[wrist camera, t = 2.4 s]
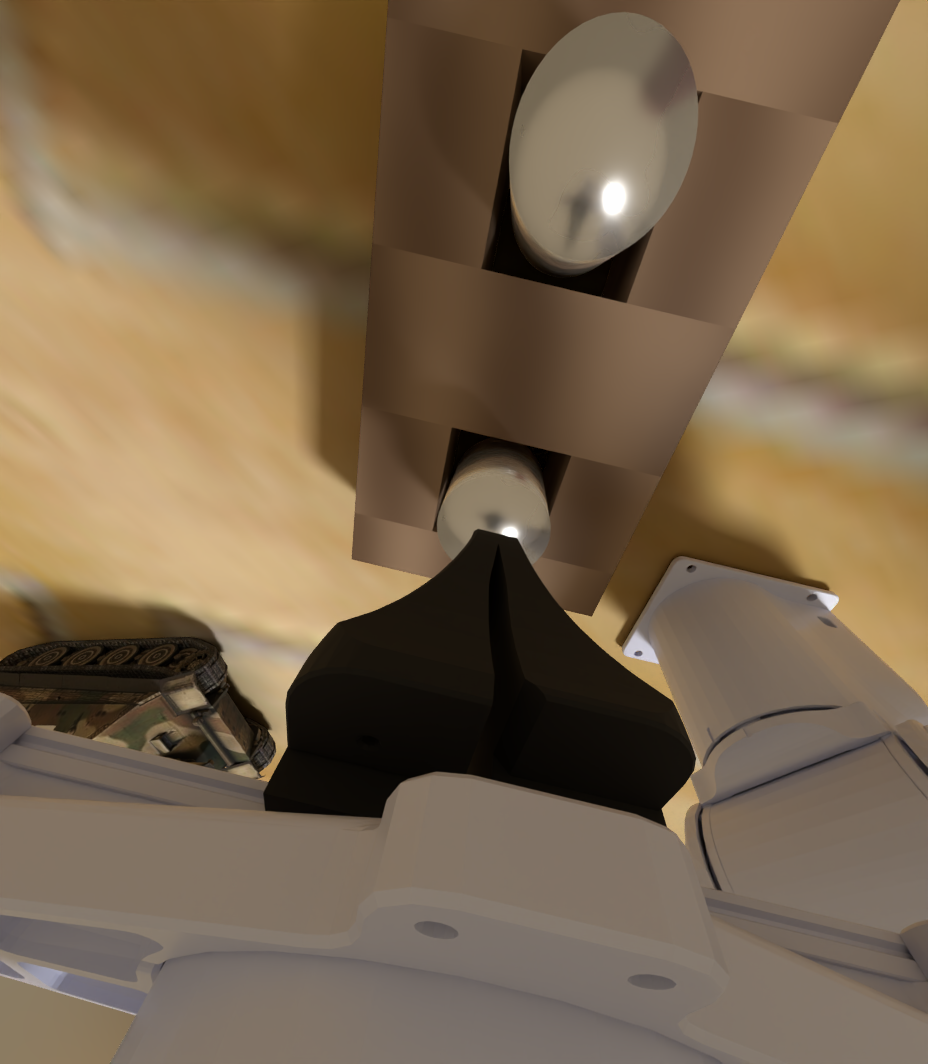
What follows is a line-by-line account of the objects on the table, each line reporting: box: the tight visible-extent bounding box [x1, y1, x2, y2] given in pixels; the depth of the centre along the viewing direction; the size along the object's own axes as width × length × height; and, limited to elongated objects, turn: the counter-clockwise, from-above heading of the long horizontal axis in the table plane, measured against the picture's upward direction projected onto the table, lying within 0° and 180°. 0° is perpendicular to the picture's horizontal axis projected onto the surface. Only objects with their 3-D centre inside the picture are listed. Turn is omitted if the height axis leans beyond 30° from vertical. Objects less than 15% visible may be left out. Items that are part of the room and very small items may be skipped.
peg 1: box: [437, 438, 551, 565], centre depth 16 cm, size 4×4×5 cm
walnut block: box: [352, 0, 900, 616], centre depth 16 cm, size 12×20×5 cm, turn 169°
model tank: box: [0, 637, 276, 779], centre depth 29 cm, size 13×22×15 cm, turn 99°
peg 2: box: [509, 12, 698, 278], centre depth 11 cm, size 4×4×5 cm
